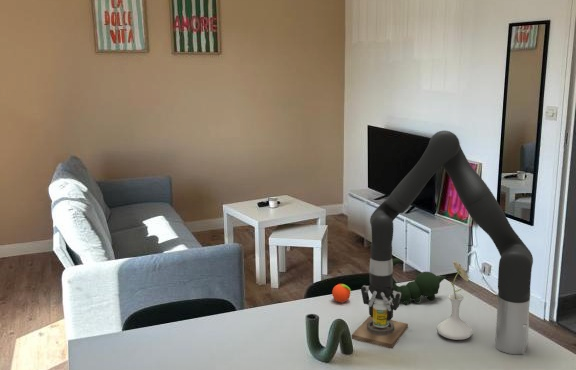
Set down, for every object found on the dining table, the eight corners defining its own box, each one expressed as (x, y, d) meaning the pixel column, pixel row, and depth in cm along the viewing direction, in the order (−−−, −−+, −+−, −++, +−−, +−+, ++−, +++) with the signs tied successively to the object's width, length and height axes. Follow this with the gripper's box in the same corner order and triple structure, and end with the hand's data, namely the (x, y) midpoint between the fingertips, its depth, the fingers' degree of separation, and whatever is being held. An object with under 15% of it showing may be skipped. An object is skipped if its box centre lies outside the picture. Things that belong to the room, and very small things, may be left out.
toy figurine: (388, 312, 209) (452, 301, 212) (384, 265, 205) (449, 254, 207) (380, 302, 218) (442, 291, 221) (377, 256, 214) (439, 246, 216)
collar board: (408, 327, 194) (408, 319, 193) (391, 348, 180) (391, 339, 180) (370, 319, 201) (370, 311, 200) (351, 338, 187) (351, 330, 187)
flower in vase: (474, 344, 181) (477, 271, 176) (437, 341, 184) (440, 269, 178) (469, 325, 194) (473, 257, 188) (435, 323, 196) (438, 255, 191)
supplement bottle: (386, 320, 193) (386, 294, 191) (391, 327, 187) (391, 300, 185) (370, 321, 192) (371, 295, 190) (375, 329, 187) (375, 302, 185)
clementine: (355, 300, 216) (355, 283, 215) (348, 307, 211) (347, 289, 209) (337, 296, 221) (337, 279, 219) (329, 302, 215) (328, 285, 213)
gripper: (405, 270, 185) (405, 317, 189) (365, 263, 192) (365, 309, 196) (398, 278, 179) (397, 327, 182) (356, 270, 186) (356, 318, 190)
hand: (380, 317), depth 189 cm, fingers closed on supplement bottle, 5 cm apart
